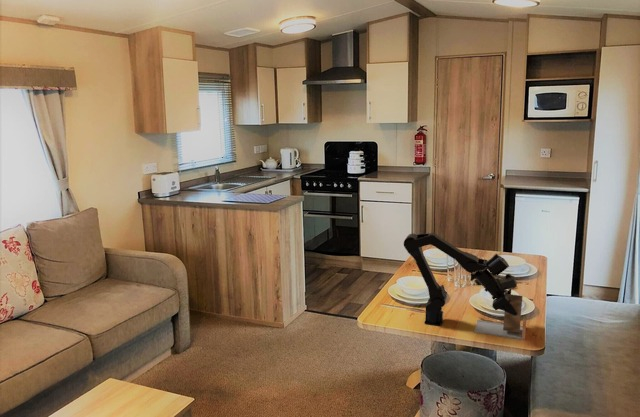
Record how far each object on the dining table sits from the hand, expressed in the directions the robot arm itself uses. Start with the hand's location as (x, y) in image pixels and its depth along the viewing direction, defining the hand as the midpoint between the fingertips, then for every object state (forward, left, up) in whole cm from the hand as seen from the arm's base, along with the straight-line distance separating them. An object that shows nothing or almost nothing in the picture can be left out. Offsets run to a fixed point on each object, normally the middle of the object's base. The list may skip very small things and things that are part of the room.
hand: (516, 311), depth 201 cm
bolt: (-14, +52, -9) cm, 54 cm away
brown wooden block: (-2, 0, -7) cm, 7 cm away
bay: (-6, 0, -9) cm, 11 cm away
